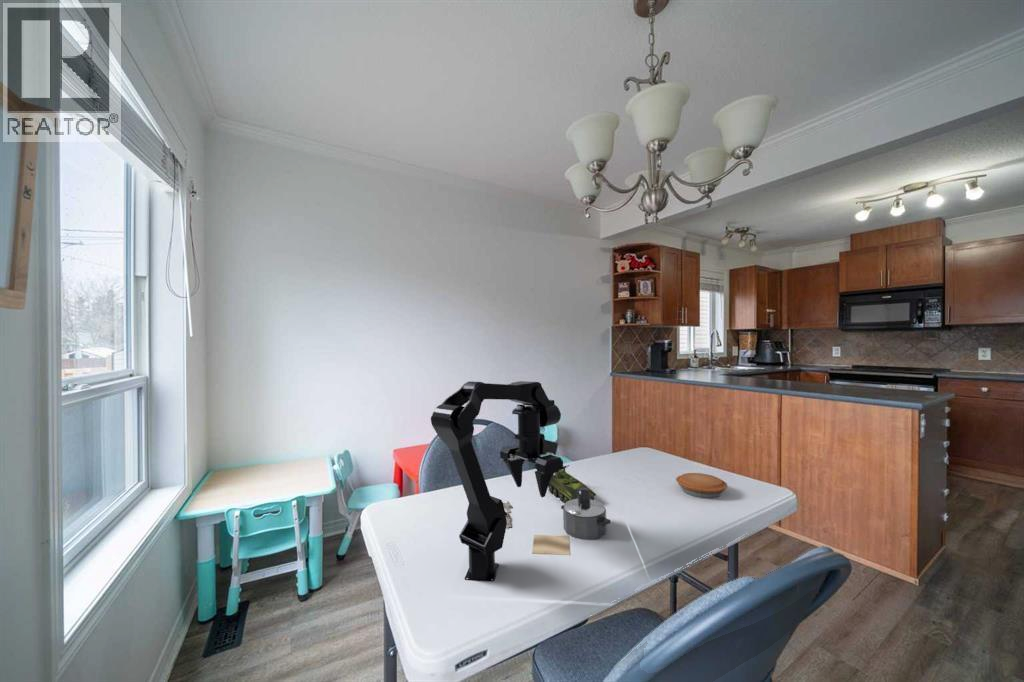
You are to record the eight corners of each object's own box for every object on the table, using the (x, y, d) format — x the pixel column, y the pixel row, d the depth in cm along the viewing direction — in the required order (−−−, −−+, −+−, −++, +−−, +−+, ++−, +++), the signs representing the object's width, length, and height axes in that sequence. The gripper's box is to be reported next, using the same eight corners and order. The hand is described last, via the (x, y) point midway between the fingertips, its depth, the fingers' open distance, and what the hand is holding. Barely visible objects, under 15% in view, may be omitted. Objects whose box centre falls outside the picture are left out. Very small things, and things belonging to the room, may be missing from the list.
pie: (669, 484, 132) (668, 470, 132) (713, 484, 131) (712, 469, 131) (687, 501, 116) (687, 486, 117) (737, 501, 116) (737, 485, 116)
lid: (607, 522, 93) (607, 497, 93) (564, 521, 94) (564, 497, 94) (602, 504, 104) (601, 482, 104) (563, 503, 105) (563, 482, 105)
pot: (620, 534, 97) (619, 511, 97) (593, 549, 90) (592, 524, 90) (578, 516, 108) (577, 495, 108) (551, 528, 101) (551, 506, 101)
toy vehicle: (568, 485, 134) (567, 458, 134) (599, 506, 115) (598, 474, 115) (545, 489, 130) (544, 461, 131) (572, 511, 112) (571, 478, 112)
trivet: (570, 557, 86) (570, 554, 86) (532, 555, 87) (532, 553, 87) (568, 538, 95) (568, 535, 95) (534, 537, 96) (534, 534, 96)
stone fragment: (485, 543, 96) (522, 538, 98) (485, 532, 96) (522, 527, 98) (477, 503, 121) (507, 500, 123) (477, 494, 121) (507, 491, 123)
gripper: (577, 431, 92) (579, 494, 91) (529, 421, 107) (530, 475, 106) (545, 438, 85) (547, 506, 85) (498, 426, 100) (499, 484, 99)
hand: (530, 491), depth 94 cm, fingers open, 9 cm apart
